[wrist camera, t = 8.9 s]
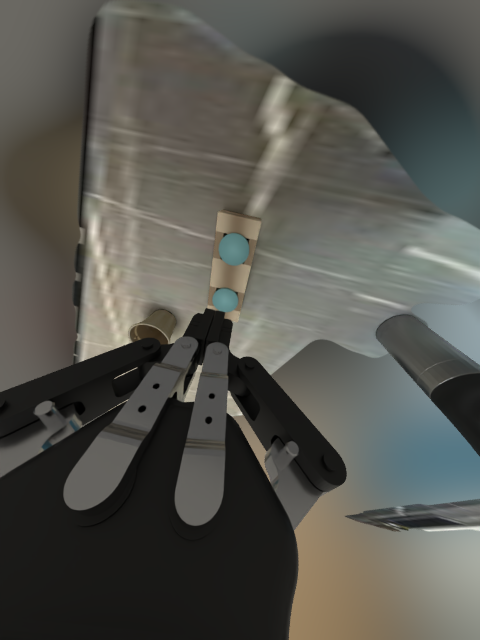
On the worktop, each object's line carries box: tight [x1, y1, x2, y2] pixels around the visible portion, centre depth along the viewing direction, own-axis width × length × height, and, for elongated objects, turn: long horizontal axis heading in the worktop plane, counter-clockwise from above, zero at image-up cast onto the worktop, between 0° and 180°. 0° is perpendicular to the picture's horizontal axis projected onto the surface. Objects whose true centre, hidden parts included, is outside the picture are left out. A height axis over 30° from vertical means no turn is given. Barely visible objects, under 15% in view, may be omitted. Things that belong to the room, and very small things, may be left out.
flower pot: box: [128, 310, 176, 345], centre depth 44 cm, size 9×9×9 cm
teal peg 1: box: [219, 233, 249, 266], centre depth 33 cm, size 5×5×7 cm
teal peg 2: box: [212, 288, 238, 312], centre depth 39 cm, size 5×5×7 cm
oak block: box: [208, 210, 261, 322], centre depth 36 cm, size 7×20×6 cm, turn 169°
